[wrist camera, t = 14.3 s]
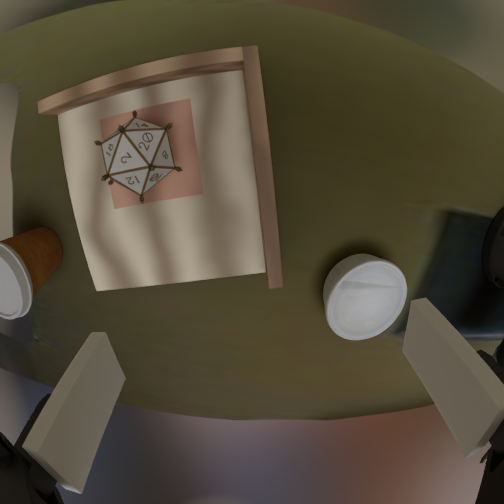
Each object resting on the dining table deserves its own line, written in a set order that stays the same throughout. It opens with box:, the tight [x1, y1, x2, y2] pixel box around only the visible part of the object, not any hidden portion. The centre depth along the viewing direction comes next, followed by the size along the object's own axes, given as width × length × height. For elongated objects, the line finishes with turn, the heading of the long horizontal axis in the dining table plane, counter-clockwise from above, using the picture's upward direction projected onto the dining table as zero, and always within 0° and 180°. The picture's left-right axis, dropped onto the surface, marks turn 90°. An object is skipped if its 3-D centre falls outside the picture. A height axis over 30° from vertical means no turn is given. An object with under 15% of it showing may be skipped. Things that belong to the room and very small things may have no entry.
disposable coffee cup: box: [0, 227, 63, 319], centre depth 29 cm, size 10×10×12 cm
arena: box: [38, 45, 283, 291], centre depth 31 cm, size 24×26×5 cm
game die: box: [94, 110, 183, 204], centre depth 27 cm, size 9×8×10 cm
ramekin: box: [323, 254, 407, 340], centre depth 37 cm, size 11×11×5 cm
